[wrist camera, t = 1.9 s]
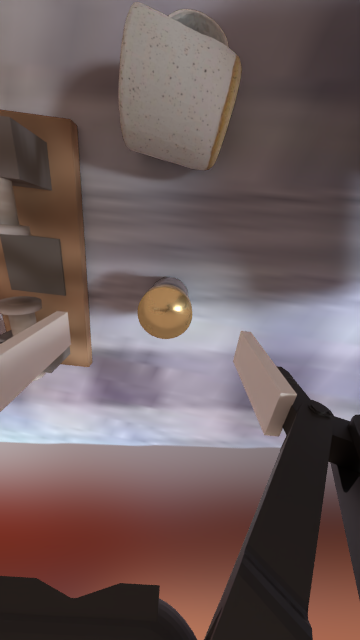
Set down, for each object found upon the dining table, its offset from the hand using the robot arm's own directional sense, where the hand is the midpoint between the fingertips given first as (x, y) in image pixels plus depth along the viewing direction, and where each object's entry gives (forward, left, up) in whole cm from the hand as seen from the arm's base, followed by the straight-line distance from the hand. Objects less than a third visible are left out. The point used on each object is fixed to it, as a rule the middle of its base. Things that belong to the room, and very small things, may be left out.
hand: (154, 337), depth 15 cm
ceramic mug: (-13, -13, -12) cm, 22 cm away
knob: (0, 0, -12) cm, 12 cm away
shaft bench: (+10, -13, -12) cm, 20 cm away
